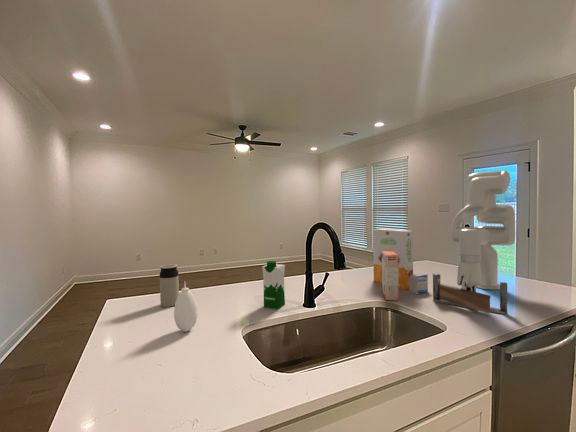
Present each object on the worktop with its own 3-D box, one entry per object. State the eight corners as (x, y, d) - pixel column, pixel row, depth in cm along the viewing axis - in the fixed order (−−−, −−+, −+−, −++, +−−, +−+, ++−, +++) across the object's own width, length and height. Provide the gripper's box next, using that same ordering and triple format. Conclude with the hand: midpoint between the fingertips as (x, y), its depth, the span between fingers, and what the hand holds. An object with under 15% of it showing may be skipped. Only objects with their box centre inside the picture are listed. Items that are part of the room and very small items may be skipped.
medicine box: (417, 294, 143) (417, 276, 143) (409, 291, 147) (409, 274, 147) (428, 291, 147) (428, 274, 146) (420, 289, 151) (420, 272, 150)
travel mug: (182, 304, 135) (181, 265, 135) (165, 308, 130) (164, 268, 129) (174, 300, 141) (173, 263, 140) (157, 305, 135) (156, 266, 135)
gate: (442, 298, 131) (442, 284, 130) (490, 312, 113) (490, 295, 113) (439, 299, 130) (439, 284, 130) (487, 313, 112) (487, 296, 112)
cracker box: (399, 301, 133) (398, 255, 132) (385, 300, 134) (384, 255, 133) (394, 292, 147) (394, 250, 146) (381, 291, 148) (381, 250, 147)
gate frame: (434, 299, 135) (434, 273, 134) (508, 312, 117) (507, 282, 116) (432, 301, 132) (432, 274, 132) (506, 314, 114) (506, 284, 113)
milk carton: (260, 307, 128) (259, 262, 128) (270, 301, 136) (269, 258, 136) (278, 310, 125) (277, 263, 124) (287, 303, 133) (286, 259, 132)
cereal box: (413, 288, 153) (412, 230, 152) (404, 289, 151) (404, 231, 150) (381, 279, 173) (381, 228, 173) (373, 280, 171) (373, 229, 170)
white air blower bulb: (184, 337, 100) (183, 284, 100) (170, 332, 104) (168, 282, 104) (202, 328, 107) (200, 279, 106) (188, 324, 111) (186, 277, 111)
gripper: (470, 255, 129) (471, 296, 130) (450, 259, 122) (450, 303, 123) (489, 257, 123) (489, 301, 123) (468, 262, 115) (469, 308, 116)
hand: (470, 302), depth 123 cm, fingers closed
